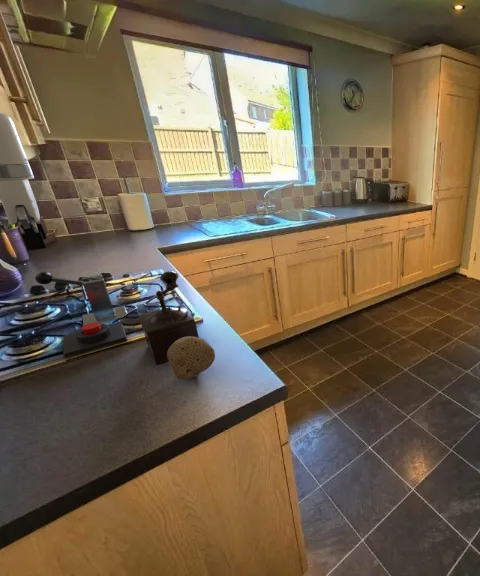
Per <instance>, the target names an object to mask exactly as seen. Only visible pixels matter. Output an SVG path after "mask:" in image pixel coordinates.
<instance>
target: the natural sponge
mask: <svg viewBox="0 0 480 576" xmlns="http://www.w3.org/2000/svg"><path fill="white" fill-rule="evenodd" d="M215 357H216V351H215V349H214V348H213V347H212V346H211V345H210V344H209V343H208V342H207V341H206V340H205V339H202V338H201V337H199V338H198V337H192V336H187V337H183V338H181V339H178V340H177V341H175V342H174V343H173V344H172V345H171V346H170V348H169V349H168V352H167V358H168V361H169V362H168V363H169V366H170V368H171V370H172V373H173V375H174V376H175V378H176V379H178V380H181V381H187V380H189V379H194V378H196V377H197V376H199V375H200V374H201V373H202V372H205V371H206V370H208V369H209V368H211V366H212V365H213V364H214V362H215Z"/></svg>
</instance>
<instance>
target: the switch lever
mask: <svg viewBox="0 0 480 576" xmlns="http://www.w3.org/2000/svg"><path fill="white" fill-rule="evenodd" d="M34 279H35V282H37V283H38V284H40V285H48V284H51V283H60V284H66V285H75V286H83V282H86V281H83V280H79V279H72V278H63V277H57V276H53V274H52V273H50V272H46V271H41V272H38V273H36V275H35V277H34ZM89 281H94V279H89ZM89 281H88V282H89ZM83 287H84V286H83Z"/></svg>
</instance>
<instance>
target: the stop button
mask: <svg viewBox="0 0 480 576" xmlns="http://www.w3.org/2000/svg"><path fill="white" fill-rule="evenodd" d="M100 324H101V323H98V322H93V323H88V324H86V325H84V324H83V325H82V326H81V329H82V331H83V334H84V335H91V334H95V333H97V332H100V331H101V330H102V328H101V326H100Z"/></svg>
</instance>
